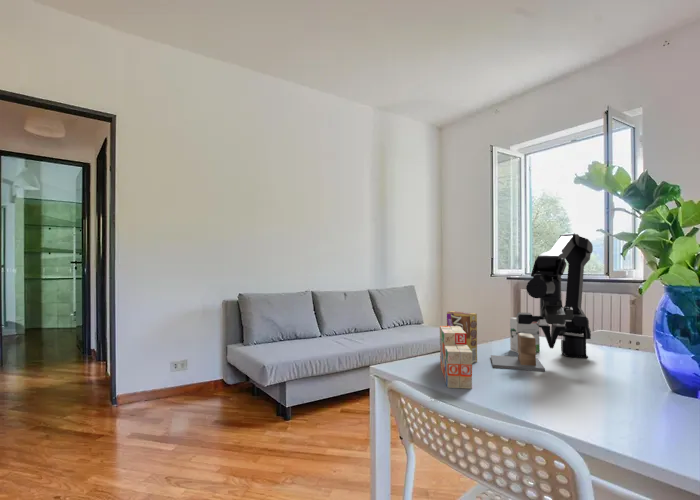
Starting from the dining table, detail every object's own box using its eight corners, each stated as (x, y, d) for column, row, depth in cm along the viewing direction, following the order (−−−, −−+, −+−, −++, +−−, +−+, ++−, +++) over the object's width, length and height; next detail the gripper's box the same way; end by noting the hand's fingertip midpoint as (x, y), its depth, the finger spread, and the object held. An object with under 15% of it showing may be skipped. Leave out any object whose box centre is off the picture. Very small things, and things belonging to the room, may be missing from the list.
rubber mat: (537, 360, 121) (537, 358, 121) (544, 371, 110) (544, 368, 110) (490, 357, 125) (490, 355, 125) (493, 367, 114) (493, 364, 114)
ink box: (531, 349, 137) (531, 316, 137) (540, 352, 132) (540, 318, 133) (509, 350, 136) (509, 316, 136) (517, 353, 131) (517, 318, 131)
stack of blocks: (472, 389, 95) (472, 339, 95) (447, 388, 96) (446, 339, 96) (460, 366, 116) (460, 325, 116) (439, 365, 117) (439, 324, 117)
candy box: (478, 361, 120) (477, 313, 120) (470, 364, 117) (469, 314, 118) (454, 356, 127) (453, 310, 127) (446, 358, 124) (446, 311, 125)
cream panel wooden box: (531, 359, 119) (531, 333, 119) (535, 365, 113) (535, 338, 113) (518, 358, 120) (517, 332, 121) (521, 364, 114) (520, 337, 114)
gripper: (520, 297, 110) (521, 352, 110) (594, 299, 105) (595, 356, 104) (515, 294, 121) (516, 344, 120) (582, 296, 115) (583, 347, 115)
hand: (551, 348), depth 115 cm, fingers closed
